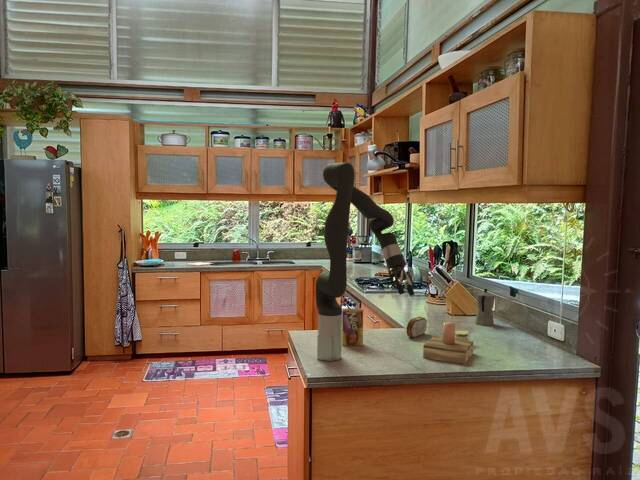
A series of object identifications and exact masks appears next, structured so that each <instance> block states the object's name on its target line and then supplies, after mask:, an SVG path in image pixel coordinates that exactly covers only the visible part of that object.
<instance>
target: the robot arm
mask: <svg viewBox="0 0 640 480" xmlns="http://www.w3.org/2000/svg"><path fill="white" fill-rule="evenodd" d="M322 172H323V173H322V177H323V180H324V182H325V184H326V185H327V186H329V187H330V188H331V189H333V190H335V191H336V193H335V194H336V195H335V199H334V202H333V204H332V206H331V207H330V210H329V211H328V214H327V215H326V218H325V220H324V221H325V222H324V229H323V230H324V231H323V233H324V234H323V236H324V237H323V238H324V243H325V247H326V250H327V252H328V253H327V254H328V255H329V271H323V272H321V273H320V274H319V275H318V276H317V278H316V281H315V303H316V305H315V306H316V308H317V311H318V312H317V315H318V317H317V342H316V343H317V346H316V347H317V348H316V349H317V351H316V353H317V354H316V359H317V360H321V361H327V362H333V361H338V360H340V359H342V346H343V345H342V308H343V307H342V305H341V304H340V303H339V302H338V300H337V299H338V298H341V297H342V296H343V295H344V294H345V293H346V290H347V285H348V283H347V282H348V277H347V276H348V275H347V272H348V271H347V256H348V255H347V254H348V252H347V251H348V239H349V229H350V213H351V204H352V206H354V207H355V208H356V209H357V210H358V212H359V213H360V214H361V215H362V216H363V217H364V218H365V219H367V220H368V228H369V230H370V231H371V232H372V233H373V235H374V236H375V238H376V239H377V242H378V243H379V245H380V248H381V251H382V256H383V259H384V261H385V264H386V267H387V270H388V275H389V278H390V281H391V284H393V285H394V286H395V287H396V290H397V292H398V294H399V295H400V296H401V295H403V294H405V293H406V292H405V289H404V287H403V285H404V286H405V288H406V291H407V294H408V295H409V296H410V297H412V296H414V295H415V291H414V288H413V286H414V284H415V283H414V280H413V278H412V276H411V273H410V271H409V270H407V271H406V270H405V267H406V266H407V263H406V260H405V258H404V255H403V252H402V249H401V248H400V246H399V243H398V241H397V237H396V235H395V233H394V232H385V233H382V231H383V232H384V231H385V230H387V229H390V228H391V227H392V226H393V225H394V223H395V219H394V216H393V215H392V214H391V213H390V211H388V210H387V209H385V208H383V207H381V206H379V205H378V204H377V203H376V202H375V200H374V199H372V197H370V196H369V195H368V194H367V193H366V192H364V191H362V190H360V189H359V188H358V187H356V186H354V184H355V180H356V179H355V177H356V174H355V169H354V166H353V165H352V164H351V163H350V162H332V163H329V164H327V165H326V166H325V167H324V169H323V171H322Z"/></svg>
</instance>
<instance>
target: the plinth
mask: <svg viewBox="0 0 640 480" xmlns="http://www.w3.org/2000/svg"><path fill="white" fill-rule="evenodd" d="M422 347H423V348H422V350H423V353H422V356H423V358H424V359H430V360H437V361H444V362H448V363H449V362H450V363H457V364H463V365H465V364H466V363H467V361H469V359H470V358H471V357H472V355H473V354H474V341H473V340H469V339H468V340H461V339H455V344H444V343H443V336H436V335H434V336H433V337H431V338H430V339H429V340H428V341H427V342H425V343H424V344H423V346H422Z"/></svg>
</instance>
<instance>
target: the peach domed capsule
mask: <svg viewBox="0 0 640 480" xmlns="http://www.w3.org/2000/svg"><path fill="white" fill-rule="evenodd" d="M455 331H456V323H455V322H454V321H443V327H442V337H443V343H444V344H455V334H456V333H455Z"/></svg>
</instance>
